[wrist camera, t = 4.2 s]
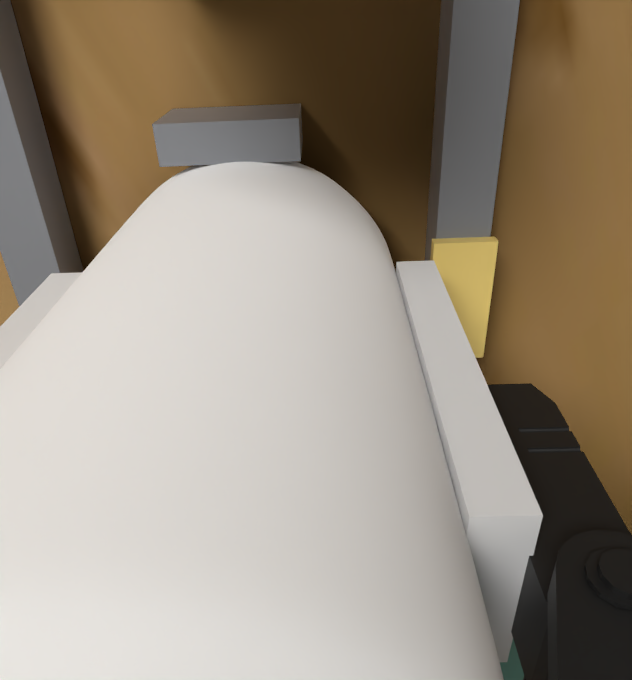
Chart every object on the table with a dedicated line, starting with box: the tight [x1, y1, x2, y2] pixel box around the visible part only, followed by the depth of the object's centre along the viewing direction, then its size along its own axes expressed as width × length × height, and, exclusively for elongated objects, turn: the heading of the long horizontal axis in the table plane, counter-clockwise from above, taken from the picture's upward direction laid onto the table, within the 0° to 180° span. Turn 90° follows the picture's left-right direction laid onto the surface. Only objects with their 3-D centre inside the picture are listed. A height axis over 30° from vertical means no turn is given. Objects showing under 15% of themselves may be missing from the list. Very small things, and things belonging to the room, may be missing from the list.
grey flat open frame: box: [0, 0, 520, 358], centre depth 13 cm, size 30×11×2 cm, turn 2°
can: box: [0, 161, 504, 680], centre depth 9 cm, size 6×6×12 cm
